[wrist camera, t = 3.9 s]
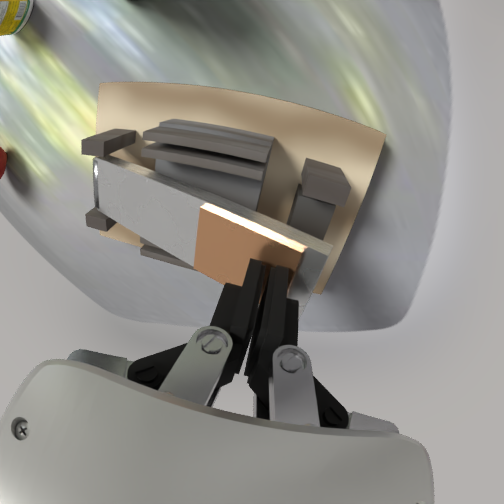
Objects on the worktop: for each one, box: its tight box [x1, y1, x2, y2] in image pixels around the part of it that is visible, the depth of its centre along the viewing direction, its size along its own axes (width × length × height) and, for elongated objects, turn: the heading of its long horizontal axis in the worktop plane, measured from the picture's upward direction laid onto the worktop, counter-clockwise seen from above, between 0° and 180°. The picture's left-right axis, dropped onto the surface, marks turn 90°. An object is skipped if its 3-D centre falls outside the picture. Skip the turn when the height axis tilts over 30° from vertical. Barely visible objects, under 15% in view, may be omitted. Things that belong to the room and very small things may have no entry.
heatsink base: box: [82, 82, 386, 294], centre depth 18 cm, size 14×21×6 cm, turn 78°
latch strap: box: [93, 155, 333, 320], centre depth 14 cm, size 4×16×1 cm, turn 78°
